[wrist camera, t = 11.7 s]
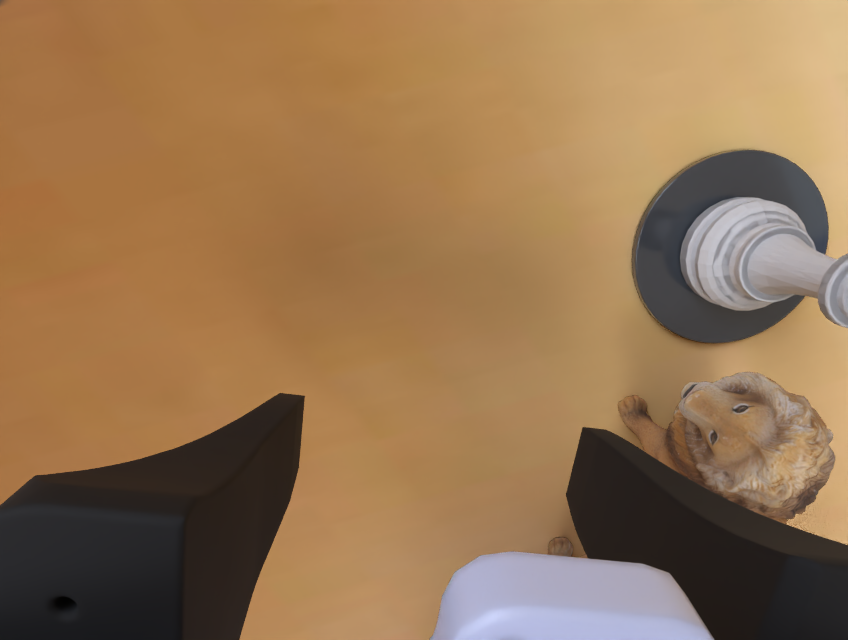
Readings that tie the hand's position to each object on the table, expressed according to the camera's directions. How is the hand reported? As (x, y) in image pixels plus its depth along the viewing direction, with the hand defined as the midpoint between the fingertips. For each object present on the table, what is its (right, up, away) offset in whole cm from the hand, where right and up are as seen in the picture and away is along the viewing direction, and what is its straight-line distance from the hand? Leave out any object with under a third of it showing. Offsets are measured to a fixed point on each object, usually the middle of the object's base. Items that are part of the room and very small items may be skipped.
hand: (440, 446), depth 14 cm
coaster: (+12, +6, +9) cm, 16 cm away
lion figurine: (+9, -3, +12) cm, 15 cm away
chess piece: (+12, +6, +9) cm, 16 cm away
